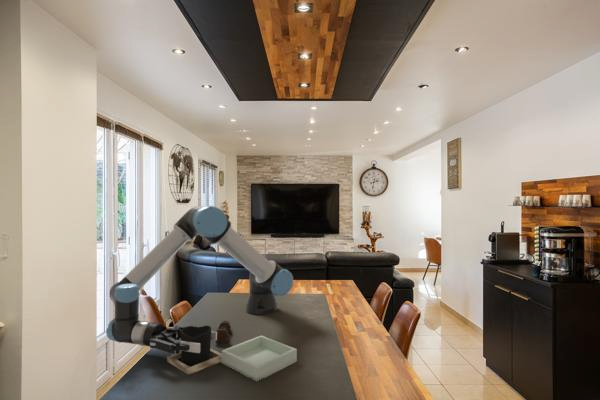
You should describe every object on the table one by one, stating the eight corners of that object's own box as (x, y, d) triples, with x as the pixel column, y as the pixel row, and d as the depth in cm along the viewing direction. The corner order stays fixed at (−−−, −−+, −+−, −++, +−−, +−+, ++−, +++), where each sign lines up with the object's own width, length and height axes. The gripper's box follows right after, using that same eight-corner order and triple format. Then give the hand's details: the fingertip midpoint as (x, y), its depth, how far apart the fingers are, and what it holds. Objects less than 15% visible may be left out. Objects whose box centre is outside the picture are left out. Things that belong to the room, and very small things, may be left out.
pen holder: (198, 351, 116) (198, 322, 116) (217, 359, 111) (217, 328, 111) (174, 362, 109) (174, 330, 109) (193, 370, 103) (193, 337, 103)
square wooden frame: (202, 348, 119) (202, 344, 119) (224, 360, 110) (224, 355, 110) (166, 361, 109) (166, 356, 109) (188, 374, 101) (188, 369, 101)
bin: (261, 346, 121) (261, 335, 121) (296, 361, 110) (296, 349, 110) (221, 363, 108) (221, 350, 108) (256, 381, 97) (256, 367, 97)
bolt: (227, 333, 138) (223, 347, 123) (216, 327, 138) (211, 341, 123) (234, 320, 139) (231, 333, 124) (224, 314, 138) (219, 326, 123)
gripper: (170, 333, 125) (225, 340, 119) (124, 359, 104) (187, 369, 98) (170, 313, 125) (225, 319, 119) (124, 334, 105) (188, 343, 98)
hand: (208, 342), depth 109 cm, fingers closed on pen holder, 9 cm apart
